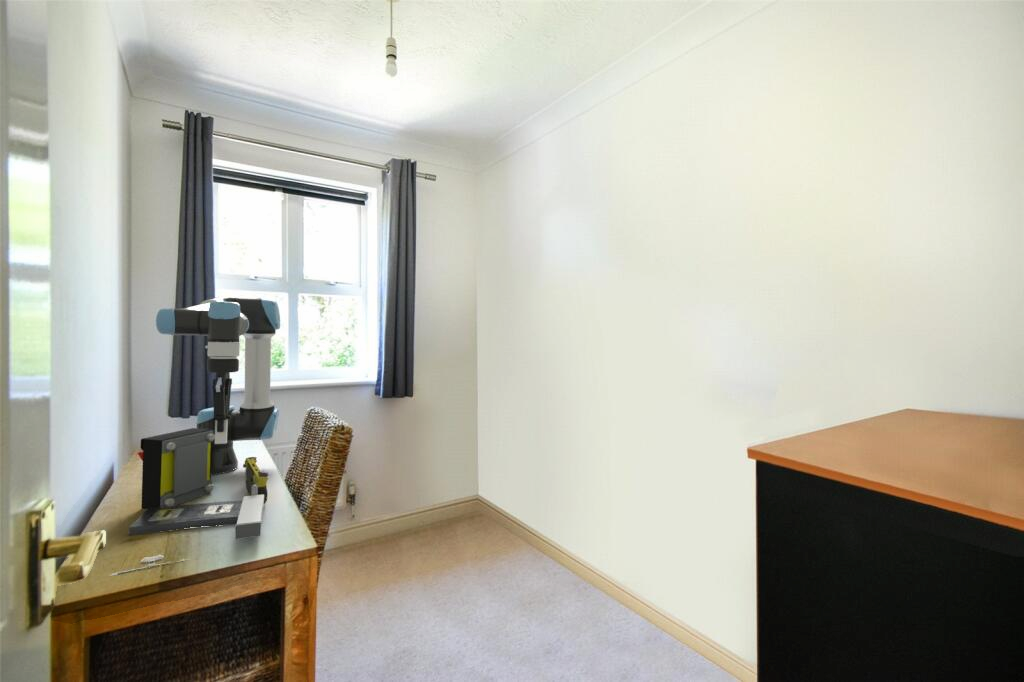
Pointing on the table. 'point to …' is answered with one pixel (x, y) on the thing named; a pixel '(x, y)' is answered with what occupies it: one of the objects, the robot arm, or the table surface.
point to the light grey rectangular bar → (250, 517)
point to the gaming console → (255, 477)
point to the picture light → (144, 561)
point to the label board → (188, 516)
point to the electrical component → (176, 467)
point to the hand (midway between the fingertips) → (220, 443)
